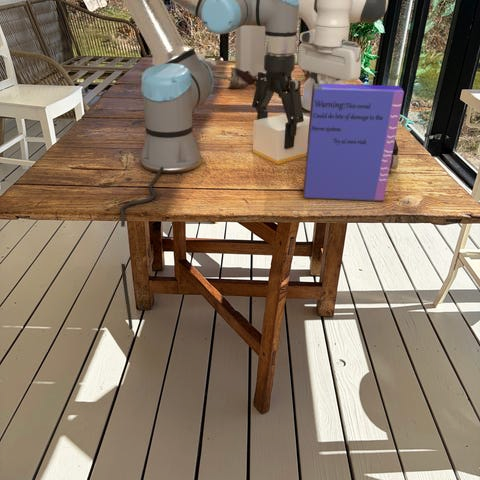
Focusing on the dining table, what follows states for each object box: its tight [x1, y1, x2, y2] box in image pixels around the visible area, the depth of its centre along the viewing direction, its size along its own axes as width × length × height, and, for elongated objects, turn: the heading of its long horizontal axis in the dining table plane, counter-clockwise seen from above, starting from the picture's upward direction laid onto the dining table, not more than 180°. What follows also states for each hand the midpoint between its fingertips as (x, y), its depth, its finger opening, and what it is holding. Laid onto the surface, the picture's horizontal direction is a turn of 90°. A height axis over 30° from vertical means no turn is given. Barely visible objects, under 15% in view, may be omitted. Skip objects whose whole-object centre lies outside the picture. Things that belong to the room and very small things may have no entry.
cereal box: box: [302, 83, 405, 202], centre depth 102 cm, size 17×5×24 cm, turn 86°
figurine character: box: [388, 138, 399, 176], centre depth 121 cm, size 7×8×15 cm
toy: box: [151, 50, 218, 67], centre depth 224 cm, size 24×25×7 cm
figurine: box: [213, 66, 258, 89], centre depth 190 cm, size 24×8×30 cm
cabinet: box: [252, 113, 310, 165], centre depth 129 cm, size 14×10×9 cm
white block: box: [234, 25, 267, 77], centre depth 210 cm, size 19×15×28 cm
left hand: (275, 141), depth 127 cm, fingers closed on cabinet, 10 cm apart
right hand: (325, 92), depth 130 cm, fingers closed
